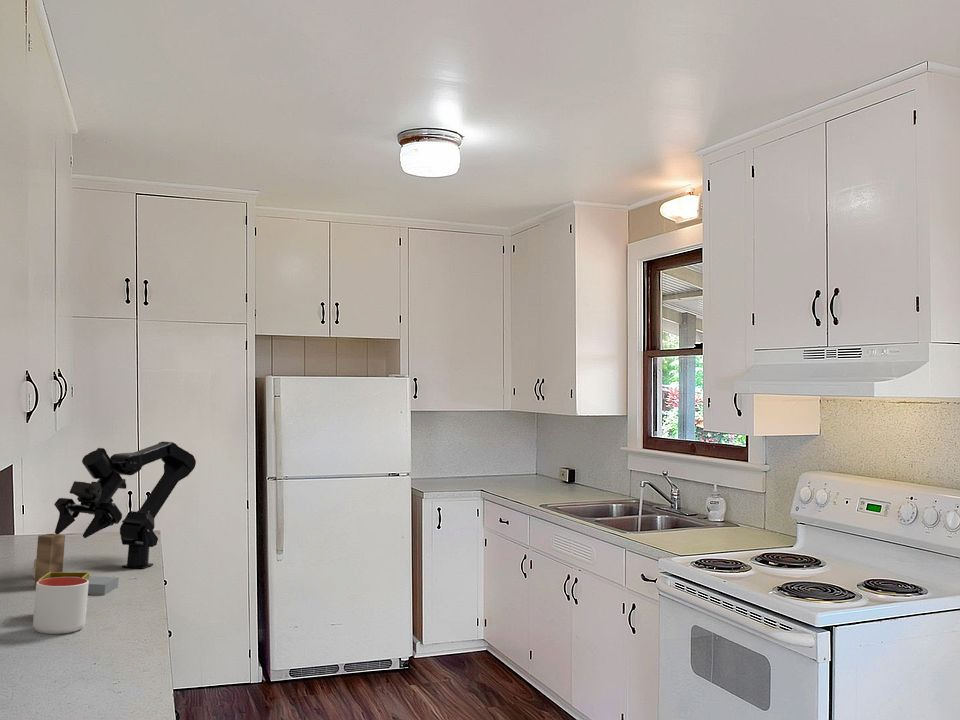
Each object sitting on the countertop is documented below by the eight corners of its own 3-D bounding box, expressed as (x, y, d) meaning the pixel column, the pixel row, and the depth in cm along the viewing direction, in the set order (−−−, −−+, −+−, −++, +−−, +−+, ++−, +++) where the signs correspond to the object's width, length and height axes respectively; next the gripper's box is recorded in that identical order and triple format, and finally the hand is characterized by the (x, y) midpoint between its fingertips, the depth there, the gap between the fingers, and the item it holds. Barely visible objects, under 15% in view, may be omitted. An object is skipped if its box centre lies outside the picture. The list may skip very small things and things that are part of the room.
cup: (21, 630, 180) (25, 581, 181) (64, 621, 189) (68, 574, 190) (53, 638, 176) (57, 588, 176) (95, 628, 184) (99, 581, 185)
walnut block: (47, 584, 224) (51, 533, 225) (61, 586, 222) (65, 535, 223) (34, 587, 220) (38, 535, 220) (47, 589, 218) (51, 537, 219)
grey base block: (82, 587, 224) (83, 576, 224) (117, 589, 224) (118, 577, 224) (67, 595, 215) (68, 583, 215) (104, 596, 215) (105, 584, 215)
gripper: (62, 468, 237) (26, 512, 225) (118, 473, 231) (83, 518, 220) (81, 495, 244) (47, 539, 232) (136, 500, 238) (103, 546, 226)
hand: (69, 535), depth 228 cm, fingers open, 9 cm apart
